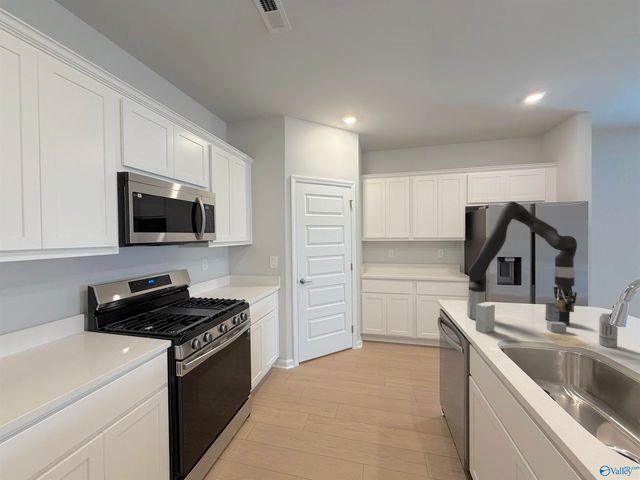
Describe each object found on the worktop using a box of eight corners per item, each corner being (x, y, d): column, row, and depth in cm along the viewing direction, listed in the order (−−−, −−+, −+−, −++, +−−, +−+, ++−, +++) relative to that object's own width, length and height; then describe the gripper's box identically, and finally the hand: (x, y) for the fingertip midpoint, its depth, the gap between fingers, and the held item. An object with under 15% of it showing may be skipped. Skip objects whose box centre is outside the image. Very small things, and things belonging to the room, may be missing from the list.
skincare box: (484, 327, 158) (484, 301, 157) (495, 331, 152) (495, 304, 152) (474, 330, 154) (475, 303, 154) (485, 333, 149) (485, 306, 148)
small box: (570, 325, 161) (571, 307, 161) (559, 325, 161) (559, 307, 161) (555, 319, 172) (555, 302, 171) (544, 319, 172) (545, 302, 171)
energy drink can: (597, 345, 132) (598, 314, 132) (600, 342, 136) (601, 312, 135) (615, 350, 128) (616, 317, 127) (618, 346, 131) (619, 315, 131)
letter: (560, 346, 132) (560, 345, 132) (539, 333, 149) (539, 332, 149) (595, 349, 129) (595, 348, 129) (569, 335, 146) (569, 334, 146)
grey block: (551, 332, 150) (551, 323, 150) (546, 330, 154) (547, 321, 154) (566, 333, 148) (566, 324, 148) (561, 331, 152) (561, 322, 152)
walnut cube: (562, 311, 137) (562, 301, 137) (555, 309, 142) (555, 299, 142) (574, 312, 136) (573, 301, 136) (567, 309, 141) (567, 299, 141)
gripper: (547, 273, 147) (547, 305, 147) (565, 277, 133) (565, 313, 133) (563, 273, 145) (564, 306, 146) (583, 278, 131) (583, 314, 131)
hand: (564, 309), depth 139 cm, fingers closed on walnut cube, 5 cm apart
